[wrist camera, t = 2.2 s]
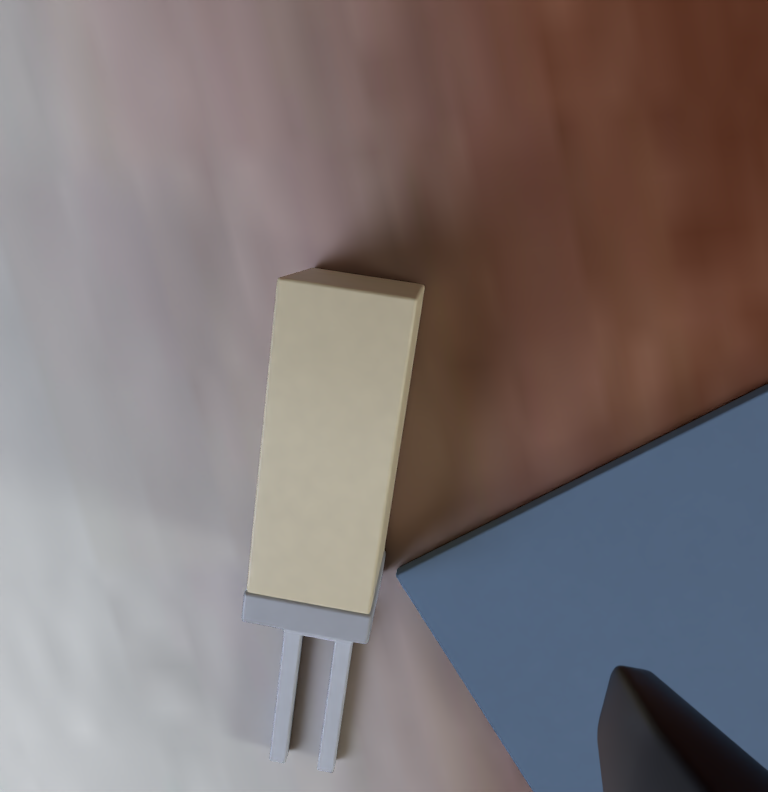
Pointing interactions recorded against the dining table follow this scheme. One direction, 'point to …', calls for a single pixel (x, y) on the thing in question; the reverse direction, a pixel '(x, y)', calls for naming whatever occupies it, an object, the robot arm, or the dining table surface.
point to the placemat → (616, 595)
